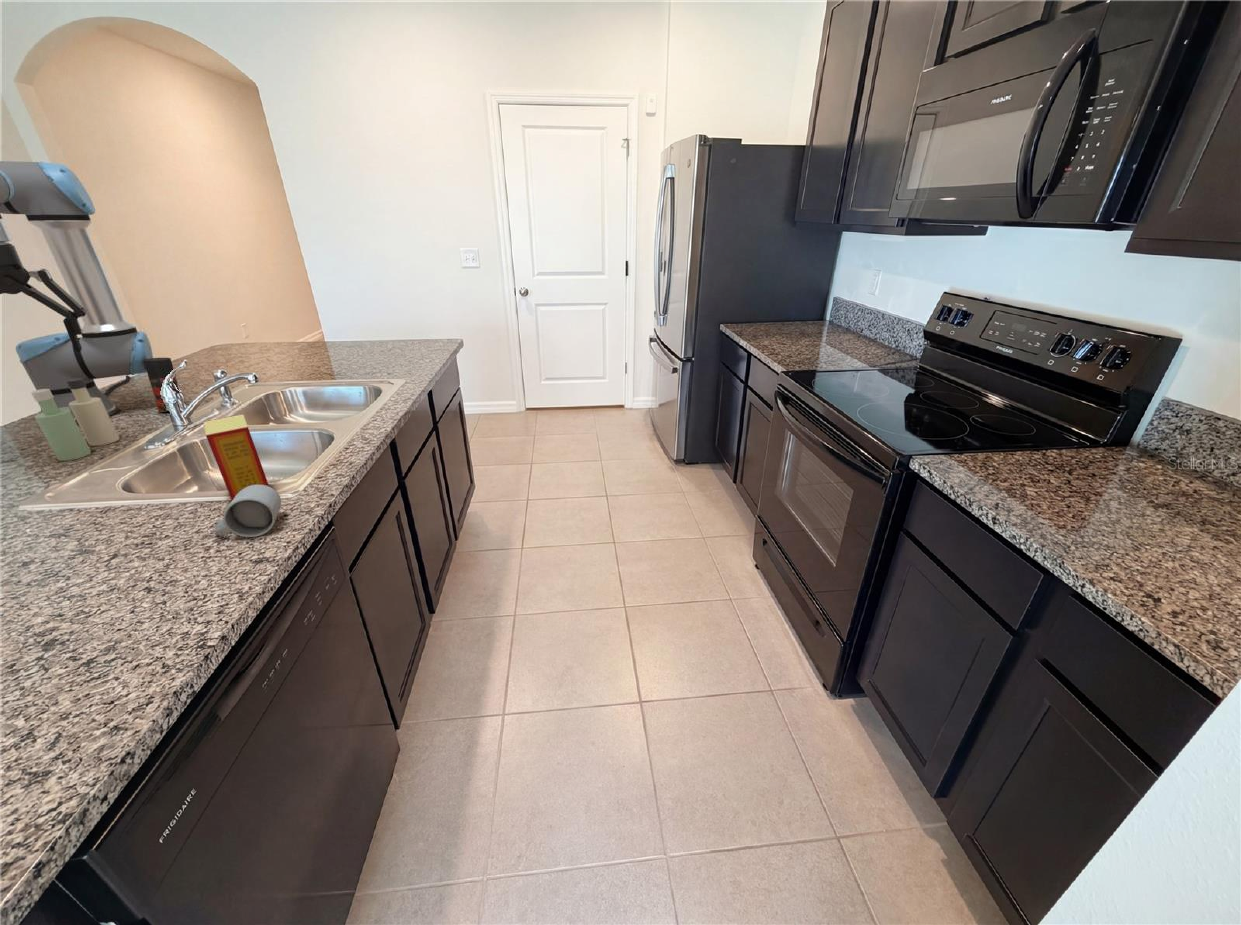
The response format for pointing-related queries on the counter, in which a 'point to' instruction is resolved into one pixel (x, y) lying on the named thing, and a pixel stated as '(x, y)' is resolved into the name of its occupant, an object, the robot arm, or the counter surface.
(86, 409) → the bottle
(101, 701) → the counter surface
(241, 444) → the baking soda box
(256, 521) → the ceramic mug
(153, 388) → the deodorant
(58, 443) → the bottle
